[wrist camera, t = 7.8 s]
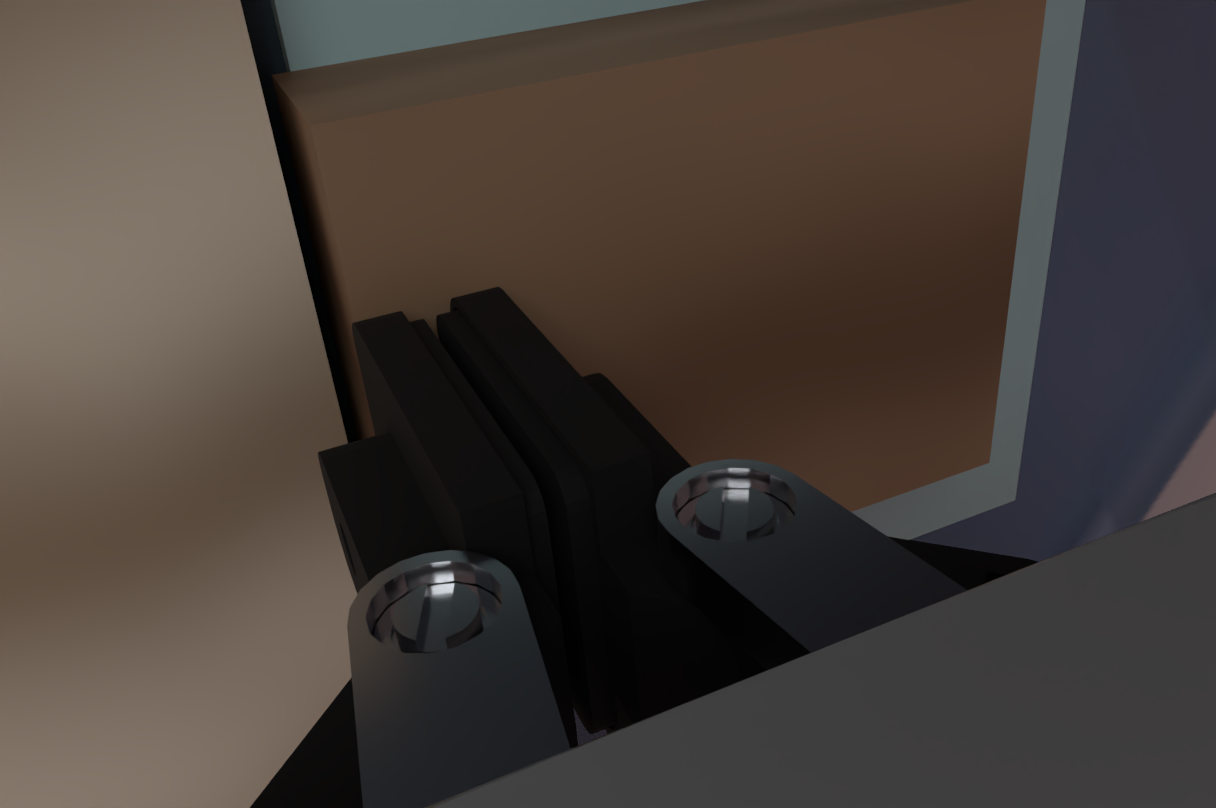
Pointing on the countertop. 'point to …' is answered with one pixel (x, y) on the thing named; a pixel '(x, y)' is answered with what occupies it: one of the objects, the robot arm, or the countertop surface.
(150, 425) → the ash deck
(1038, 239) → the teal mat
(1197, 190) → the countertop surface
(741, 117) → the walnut tile
